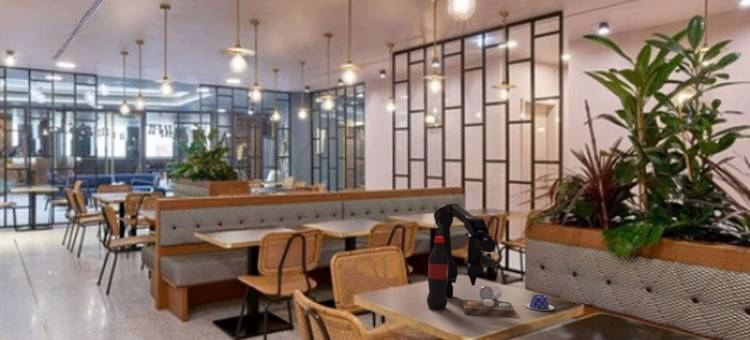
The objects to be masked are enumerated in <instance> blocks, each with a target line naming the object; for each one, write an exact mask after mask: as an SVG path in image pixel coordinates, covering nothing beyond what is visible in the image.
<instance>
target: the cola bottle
mask: <svg viewBox="0 0 750 340" xmlns="http://www.w3.org/2000/svg"><path fill="white" fill-rule="evenodd" d="M433 243H434V246H433V249H432V250H431V252H430V255H429V257H428V259H427V260H428V261H427V262H428V271H427V273H428V276H427V282H428V283H427V284H428V294H427V297H426V304H427V306H428V308H430V309H431V310H435V311H442V310H445V309H446V308H447V305H448V298H447V296H446V288H447V283H448V263H449V260H448V257H447V254H446V251H445V249H444V245H443V243H444V237H441V236H440V235H439V236H435V237H434V242H433Z"/></svg>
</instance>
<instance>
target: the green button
mask: <svg viewBox="0 0 750 340" xmlns="http://www.w3.org/2000/svg"><path fill="white" fill-rule="evenodd" d="M509 306H510V305H509V304H506V303H499V306H498V307H503V308H509Z"/></svg>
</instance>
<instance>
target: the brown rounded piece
mask: <svg viewBox="0 0 750 340" xmlns="http://www.w3.org/2000/svg"><path fill="white" fill-rule="evenodd" d="M467 305H468V306H478V303H477V302H473V301H468V302H467Z"/></svg>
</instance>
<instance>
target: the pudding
mask: <svg viewBox="0 0 750 340" xmlns="http://www.w3.org/2000/svg"><path fill="white" fill-rule="evenodd" d="M524 306H525V307H526V308H528V309H531V310H536V311H543V312H545V311H553V310H554V309H555V307H554V306H553V305H551V304H549V301H548V297H547V296H546V295H543V294H533V295H532V297H531V301H530V302H526V303H525V304H524Z"/></svg>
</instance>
